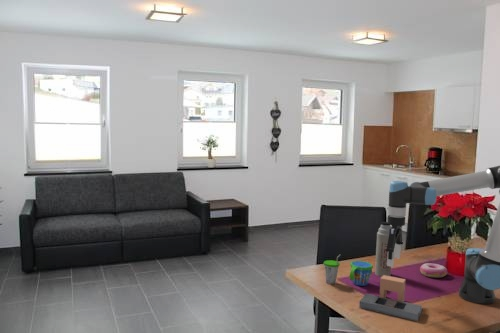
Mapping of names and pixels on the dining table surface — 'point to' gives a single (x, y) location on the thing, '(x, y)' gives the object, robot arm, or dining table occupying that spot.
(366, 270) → the snack cup
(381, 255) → the thermos bottle
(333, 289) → the dining table surface
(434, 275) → the donut
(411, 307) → the rail
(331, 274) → the cup
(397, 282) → the tan bridge block
